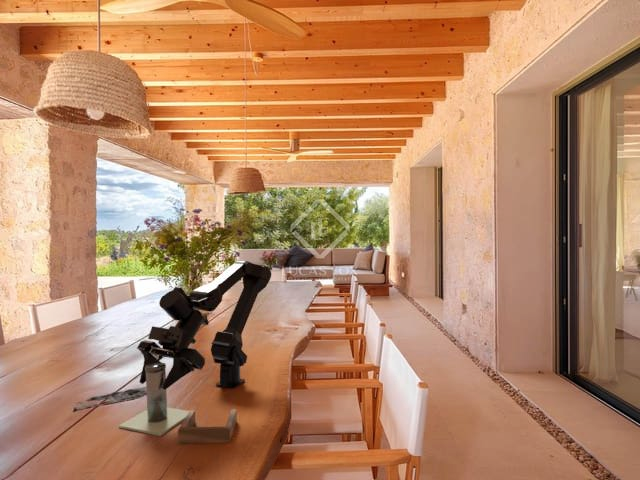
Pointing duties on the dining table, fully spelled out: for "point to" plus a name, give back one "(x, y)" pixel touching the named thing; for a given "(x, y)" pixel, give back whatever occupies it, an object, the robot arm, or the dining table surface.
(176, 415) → the tile
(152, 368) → the canister
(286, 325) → the dining table surface
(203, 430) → the cubby
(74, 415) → the dining table surface
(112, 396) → the driftwood
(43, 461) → the dining table surface
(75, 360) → the dining table surface
